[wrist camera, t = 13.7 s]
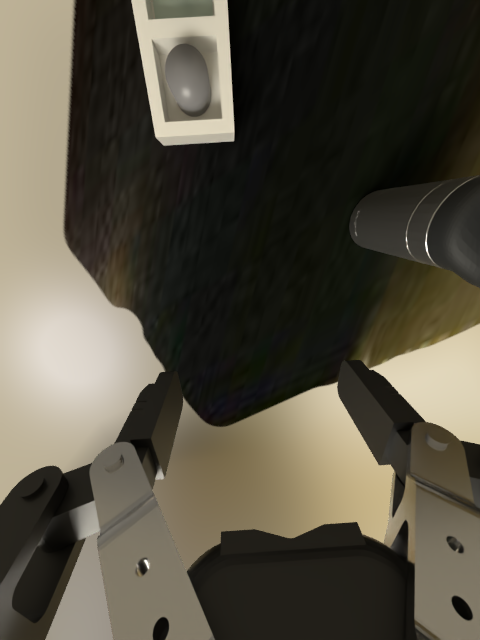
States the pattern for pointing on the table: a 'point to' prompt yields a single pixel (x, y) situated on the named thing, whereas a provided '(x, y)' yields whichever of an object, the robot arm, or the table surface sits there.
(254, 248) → the table surface
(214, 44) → the white divided tray
